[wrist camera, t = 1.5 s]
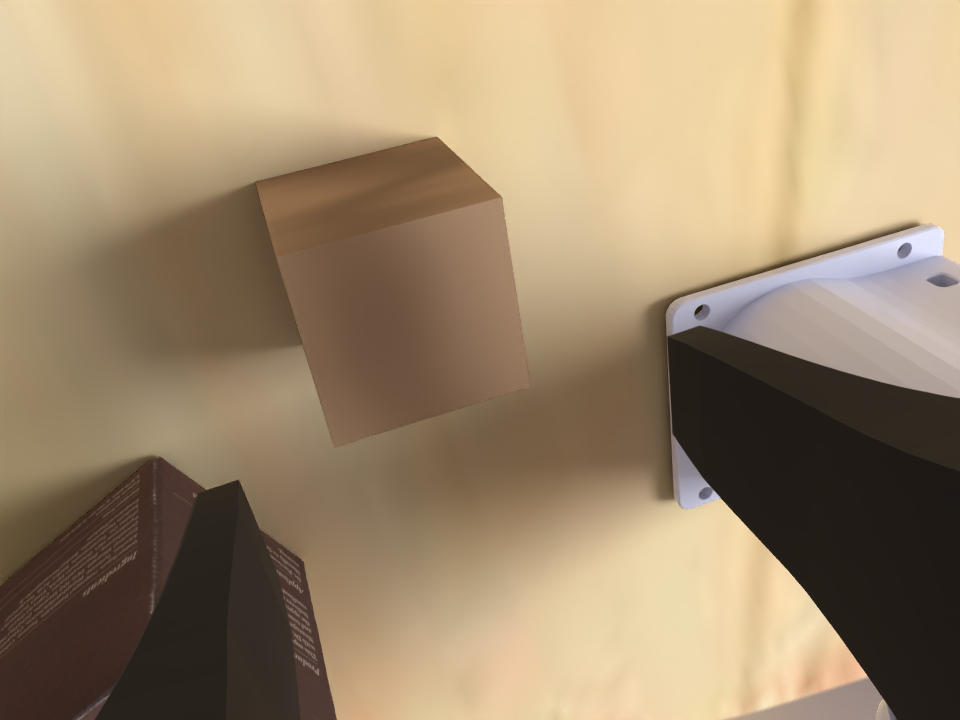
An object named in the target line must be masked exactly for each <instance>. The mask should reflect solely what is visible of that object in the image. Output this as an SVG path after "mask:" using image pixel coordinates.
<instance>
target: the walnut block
mask: <svg viewBox="0 0 960 720" xmlns="http://www.w3.org/2000/svg"><path fill="white" fill-rule="evenodd" d="M255 183H256V187H257V190H258V194H259V198H260V201H261V205H262V209H263V212H264V216H265V220H266V223H267V227H268V231H269V234H270V238H271V242H272V245H273V249H274V253H275V256H276V260H277V263H278V266H279V269H280V273H281V276H282V279H283V282H284V286H285V289H286V292H287V295H288V299H289V302H290V305H291V308H292V312H293V315H294V318H295V321H296V325H297V328H298V331H299V334H300V338H301V341H302V344H303V347H304V351H305V354H306V357H307V360H308V364H309V367H310V370H311V373H312V377H313V380H314V383H315V386H316V390H317V393H318V396H319V399H320V403H321V406H322V409H323V412H324V416H325V419H326V422H327V425H328V429H329V432H330V435H331V438H332V442H333V445H334V447H337V446H340V445H344V444H347V443H350V442H353V441H356V440H360V439H363V438H366V437H369V436H373V435H376V434H379V433H382V432H385V431H389V430H392V429H395V428H398V427H402V426H405V425H408V424H411V423H414V422H418V421H421V420H424V419H427V418H431V417H434V416H437V415H440V414H443V413H447V412H450V411H453V410H456V409H460V408H463V407H466V406H469V405H472V404H476V403H479V402H482V401H485V400H488V399H492V398H495V397H498V396H501V395H505V394H508V393H511V392H514V391H517V390H521V389H524V388H527V387H530V382H529V376H528V369H527V362H526V355H525V349H524V342H523V335H522V329H521V322H520V315H519V309H518V302H517V295H516V288H515V282H514V275H513V268H512V262H511V255H510V248H509V242H508V235H507V228H506V221H505V215H504V208H503V201H502V197H501V196H500V195H499V194H498V193H497V192H496V191H495V190H494V189H493V188H492V187H490V186H489V185H488V184H487V183H486V182H485V181H484V180H483V179H482V178H481V177H480V176H479V175H478V174H477V173H475V172H474V171H473V170H472V169H471V168H470V167H469V166H468V165H467V164H466V163H465V162H464V161H463V160H462V159H460V158H459V157H458V156H457V155H456V154H455V153H454V152H453V151H452V150H451V149H450V148H449V147H448V146H447V145H445V144H444V143H443V142H442V141H441V140H440V139H439V138H438V137H434V138H430V139H426V140H422V141H418V142H414V143H410V144H406V145H402V146H398V147H394V148H390V149H386V150H382V151H378V152H374V153H370V154H366V155H361V156H357V157H353V158H349V159H345V160H341V161H337V162H333V163H329V164H325V165H321V166H317V167H313V168H309V169H305V170H301V171H297V172H293V173H289V174H285V175H281V176H277V177H273V178H269V179H265V180H261V181H257V182H255Z"/></svg>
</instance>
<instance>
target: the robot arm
mask: <svg viewBox="0 0 960 720" xmlns="http://www.w3.org/2000/svg"><path fill="white" fill-rule="evenodd" d="M943 243H944V231H943V230H942V228H940V227H938V226H935V225H933V224H931V223H930V224H924V225H920V226H917V227H914V228H910V229H907V230H904V231H900V232H897V233H894V234H890V235H887V236H884V237H880V238H877V239H874V240H870V241H867V242H864V243H860V244H857V245H854V246H850V247H847V248H844V249H840V250H837V251H834V252H830V253H827V254H824V255H820V256H817V257H814V258H810V259H807V260H804V261H800V262H797V263H794V264H790V265H787V266H784V267H780V268H777V269H774V270H770V271H767V272H764V273H760V274H757V275H754V276H750V277H747V278H744V279H740V280H737V281H734V282H730V283H727V284H724V285H720V286H717V287H714V288H710V289H707V290H704V291H700V292H697V293H694V294H690V295H687V296H684V297H680V298H678V299H676V300H674V301H673V302H672V303H671V304H670V306H669V308H668V309H667V312H666V333H667V355H668V377H669V400H670V422H671V444H672V466H673V489H674V499H675V501H676V502H677V503H678V505H679V506H680V507H681V508H683V509H691V508H694V507H697V506H700V505H703V504H706V503H709V502H712V501H714V500H717V499H720V498H721V499H722V500H723V501H724V502H725V503H726V504H727V505H728V507H729V508H730V509H731V510H732V511H733V512H734V513H735V514H736V515H737V516H738V517H739V518H740V519H741V521H742V522H743V523H744V524H745V525H746V526H747V527H748V528H749V529H750V530H751V531H752V532H753V533H754V534H755V536H756V537H757V538H758V539H759V540H760V541H761V542H762V543H763V544H764V545H765V546H766V547H767V548H768V549H769V551H770V552H771V553H772V554H773V555H774V556H775V557H776V558H777V559H778V560H779V561H780V562H781V563H782V564H783V566H784V567H785V568H786V569H787V570H788V571H789V572H790V573H791V574H792V576H793V577H794V578H795V579H796V580H797V581H798V583H799V584H800V585H801V586H802V587H803V588H804V590H805V591H806V592H807V593H808V595H809V596H810V597H811V599H812V600H813V601H814V603H815V604H816V605H817V607H818V608H819V609H820V611H821V612H822V613H823V615H824V616H825V617H826V619H827V620H828V621H829V623H830V624H831V625H832V627H833V628H834V629H835V631H836V632H837V633H838V635H839V636H840V637H841V639H842V640H843V642H844V643H845V645H846V646H847V647H848V649H849V650H850V652H851V653H852V654H853V656H854V657H855V659H856V660H857V662H858V663H859V664H860V666H861V667H862V669H863V670H864V671H865V673H866V674H867V676H868V677H869V679H870V680H871V681H872V683H873V684H874V686H875V687H876V688H877V690H878V691H879V693H880V695H881V696H882V697H883V700H882V701H881V703H880V704H879V707H878V711H877V714H876V720H960V264H959V263H956V262H954V261H952V260H950V259H948V258H946V257H944V256H942V250H943ZM901 245H902V248H901V249H900V251H899V252H898V249H899V248H900V246H901ZM702 304H703V308H702V310H701V311H700V312H699V313H698V314H696V315H694V313H695V310H696V309H697V307H699V306H700V305H702ZM705 487H706V488H705ZM703 488H705V489H704V490H703V491H701V490H702V489H703ZM700 491H701V492H700ZM699 492H700V493H699ZM94 720H301V717H300V707H299V697H298V687H297V677H296V667H295V658H294V648H293V639H292V632H291V627H290V623H289V618H288V614H287V609H286V605H285V601H284V596H283V592H282V588H281V584H280V579H279V575H278V573H277V570H276V568H275V566H274V563H273V561H272V558H271V556H270V554H269V551H268V549H267V546H266V544H265V542H264V539H263V537H262V534H261V532H260V530H259V527H258V525H257V522H256V520H255V518H254V515H253V513H252V510H251V508H250V505H249V503H248V501H247V498H246V496H245V493H244V491H243V489H242V486H241V484H240V481H239V480H236V481H233V482H230V483H227V484H224V485H221V486H218V487H215V488H212V489H209V490H206V491H203V492H200V493H198V495H197V496H196V498H195V500H194V502H193V505H192V508H191V512H190V515H189V518H188V521H187V524H186V527H185V530H184V533H183V536H182V539H181V542H180V545H179V548H178V550H177V553H176V556H175V559H174V561H173V564H172V566H171V569H170V571H169V574H168V576H167V579H166V581H165V584H164V586H163V589H162V591H161V593H160V596H159V598H158V601H157V603H156V605H155V607H154V610H153V612H152V614H151V616H150V618H149V620H148V622H147V624H146V626H145V628H144V631H143V633H142V635H141V637H140V639H139V641H138V643H137V645H136V647H135V649H134V651H133V653H132V655H131V657H130V659H129V661H128V663H127V665H126V666H125V668H124V670H123V672H122V674H121V676H120V677H119V679H118V681H117V683H116V684H115V686H114V688H113V690H112V691H111V693H110V695H109V696H108V698H107V700H106V701H105V703H104V705H103V706H102V708H101V710H100V711H99V713H98V715H97V716H96V718H95V719H94Z"/></svg>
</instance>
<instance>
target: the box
mask: <svg viewBox="0 0 960 720" xmlns="http://www.w3.org/2000/svg"><path fill="white" fill-rule="evenodd" d="M203 491H206V490H205V489H204V488H202V487H201V486H200V485H198V484H197V483H195V482H194V481H193V480H191V479H190V478H188V477H187V476H186V475H184V474H183V473H182V472H180V471H179V470H178V469H176V468H175V467H173V466H172V465H170V464H169V463H168V462H167V461H165V460H164V459H163V458H161V457H154V458H153V459H151V460H150V461H148V462H147V463H146V464H145V465H144V466H143V467H142V468H141V469H139V470H138V471H137V472H136V473H135V474H133V475H132V476H131V477H130V478H128V479H127V480H126V481H125V482H124V483H123V484H121V485H120V486H119V487H117V488H116V489H115V490H114V491H113V492H112V493H111V494H109V495H108V496H107V497H106V498H105V499H103V500H102V501H101V502H100V503H99V504H98V505H97V506H96V507H94V508H93V509H92V510H90V511H89V512H88V513H87V514H86V515H84V516H83V517H82V518H81V519H80V520H79V521H77V522H76V523H75V524H74V525H73V526H72V527H70V528H69V529H68V530H67V531H65V532H64V533H63V534H62V535H60V536H59V537H58V538H57V539H56V540H55V541H54V542H52V543H51V544H50V545H49V546H48V547H46V548H45V549H44V550H43V551H42V552H40V553H39V554H38V555H37V556H36V557H34V558H33V559H32V560H31V561H30V562H29V563H27V564H26V565H25V566H24V567H23V568H21V569H20V570H19V571H18V572H17V573H16V574H14V575H13V576H12V577H11V578H10V579H9V580H7V581H6V582H5V583H4V584H2V585H1V586H0V720H94V719H95V718H96V716H97V715H98V713H99V711H100V710H101V708H102V706H103V705H104V703H105V701H106V700H107V698H108V696H109V695H110V693H111V691H112V690H113V688H114V686H115V684H116V683H117V681H118V679H119V677H120V676H121V674H122V672H123V670H124V668H125V666H126V665H127V663H128V661H129V659H130V657H131V655H132V653H133V651H134V649H135V647H136V645H137V643H138V641H139V639H140V637H141V635H142V633H143V631H144V628H145V626H146V624H147V622H148V620H149V618H150V616H151V614H152V612H153V610H154V607H155V605H156V603H157V601H158V598H159V596H160V593H161V591H162V589H163V586H164V584H165V581H166V579H167V576H168V574H169V571H170V569H171V566H172V564H173V561H174V559H175V556H176V553H177V550H178V548H179V545H180V542H181V539H182V536H183V533H184V530H185V527H186V524H187V521H188V518H189V515H190V512H191V508H192V505H193V502H194V500H195V498H196V496H197V495H198V493H200V492H203ZM259 530H260V529H259ZM260 532H261V534H262V537H263V539H264V542H265V544H266V546H267V549H268V551H269V554H270V556H271V558H272V561H273V563H274V566H275V568H276V570H277V573H278V575H279V579H280V584H281V588H282V592H283V596H284V601H285V605H286V609H287V614H288V618H289V623H290V627H291V632H292V639H293V648H294V658H295V667H296V677H297V687H298V697H299V707H300V717H301V720H337V719H336V714H335V708H334V704H333V700H332V696H331V691H330V687H329V682H328V678H327V673H326V667H325V663H324V658H323V653H322V648H321V643H320V639H319V633H318V629H317V624H316V621H315V617H314V612H313V606H312V603H311V597H310V592H309V588H308V583H307V579H306V573H305V567H304V562H303V561H302V560H301V559H299V558H298V557H297V556H295V555H294V554H292V553H291V552H289V551H288V550H287V549H285V548H284V547H283V546H281V545H280V544H279V543H277V542H276V541H275V540H273V539H272V538H270V537H269V536H268V535H266V534H265V533H264V532H262V531H261V530H260Z"/></svg>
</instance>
